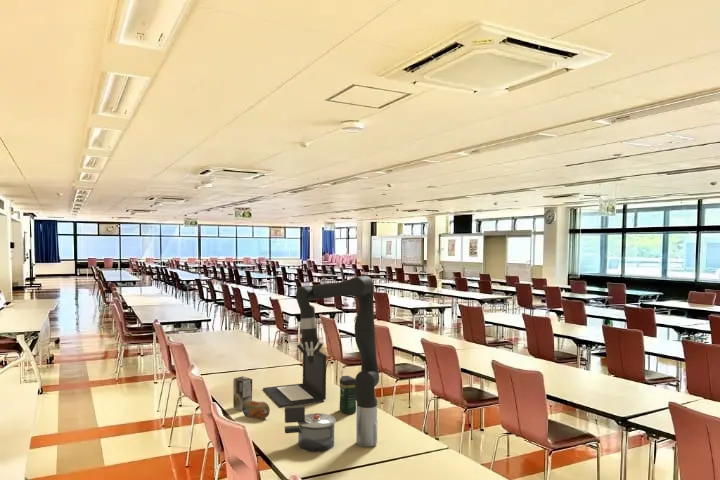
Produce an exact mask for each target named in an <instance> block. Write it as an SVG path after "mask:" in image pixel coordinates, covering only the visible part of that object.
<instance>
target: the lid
mask: <svg viewBox="0 0 720 480" xmlns="http://www.w3.org/2000/svg"><path fill="white" fill-rule="evenodd" d="M305 406H306V405H305V404H304V405H296V406H285V407H284V423H285V424H291V423H292V424H293V423H297V424H298V426H299V425H300V426H303V427H306V428H325V427H329V426H331V425H333V424H334V425H335V424H336V420H337V419H336V417H335V416H333V415H331V414H326V413H318V412H317V413H309V414H306V407H305Z"/></svg>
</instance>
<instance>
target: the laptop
mask: <svg viewBox="0 0 720 480" xmlns="http://www.w3.org/2000/svg"><path fill="white" fill-rule="evenodd" d="M303 348H304V349H305V350H306V348H305V347H304V345H303ZM316 349H317V348H315V350H314V352H315V351H316ZM314 357H315V362H314V363H313V364H310V363H309V362H308V356H307V355H304V354H303V353H302V383H294V384H287V385H276V386H267V387H263V388H262V390H263V392H265V394H266V395H267V396H268V397H269V398H270V399H271V400H272V401H273V402H274V403H275V404H276V405H277V406H278V407H279V408H285V406H298V405H304V406H305V405H311V404H318V403H324V401H325V400H327V399H326V398H327V397H326V395H327V354H326V353H324V352H322V351H320V350H319V352H318V353H317V354H315V355H314Z"/></svg>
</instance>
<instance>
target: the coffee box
mask: <svg viewBox="0 0 720 480" xmlns="http://www.w3.org/2000/svg"><path fill="white" fill-rule="evenodd" d="M232 381H233V382H232V383H233V386H232V387H233V393H232V395H233V403H232V404H233V407H232V408H233V409H235V410H238V411H242V412H243V410H242V408H243V405H244V403H245V402H247V401H253V379H252V378H250V377H246V376H243V375H242V376H238V377H235V378H233V380H232Z"/></svg>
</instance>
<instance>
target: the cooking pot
mask: <svg viewBox="0 0 720 480" xmlns="http://www.w3.org/2000/svg"><path fill="white" fill-rule="evenodd" d="M297 433H298V438H297V439H298V443H297V445H298V448H299V449H301V450H303V451H306V452H312V453H315V452H316V453H317V452H325V450H326V451H329V450H330V449H333V448H334V446H335V424H333V425H331V426H329V427H325V428H306V427H303V426H300V425H299V424H298V425H287V426H284V434H297Z"/></svg>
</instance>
